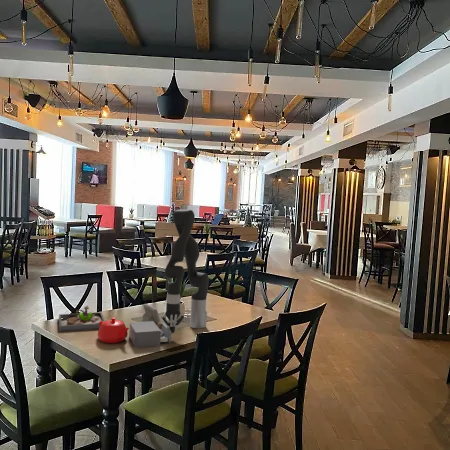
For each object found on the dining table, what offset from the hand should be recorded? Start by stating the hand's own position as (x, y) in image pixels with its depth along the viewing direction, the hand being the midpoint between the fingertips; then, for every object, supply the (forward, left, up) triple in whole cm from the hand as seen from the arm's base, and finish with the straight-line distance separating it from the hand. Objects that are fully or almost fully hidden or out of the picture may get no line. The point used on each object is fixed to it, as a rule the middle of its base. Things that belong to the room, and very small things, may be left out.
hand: (171, 332), depth 230 cm
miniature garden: (+42, -40, -4) cm, 59 cm away
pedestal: (+3, -14, -4) cm, 15 cm away
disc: (+8, 0, -2) cm, 8 cm away
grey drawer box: (+9, 0, -2) cm, 9 cm away
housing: (+15, 0, -4) cm, 16 cm away
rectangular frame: (+45, -39, -4) cm, 59 cm away
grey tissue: (+4, -33, -4) cm, 33 cm away
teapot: (+31, -5, -4) cm, 31 cm away
